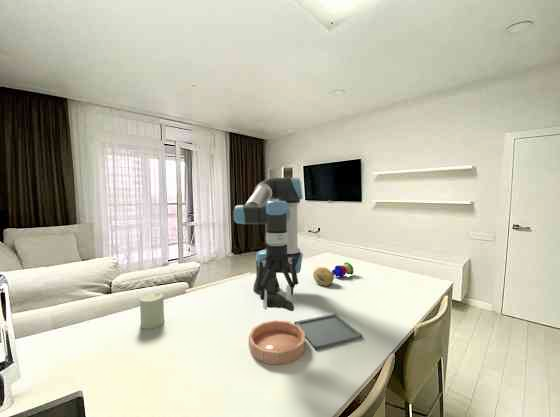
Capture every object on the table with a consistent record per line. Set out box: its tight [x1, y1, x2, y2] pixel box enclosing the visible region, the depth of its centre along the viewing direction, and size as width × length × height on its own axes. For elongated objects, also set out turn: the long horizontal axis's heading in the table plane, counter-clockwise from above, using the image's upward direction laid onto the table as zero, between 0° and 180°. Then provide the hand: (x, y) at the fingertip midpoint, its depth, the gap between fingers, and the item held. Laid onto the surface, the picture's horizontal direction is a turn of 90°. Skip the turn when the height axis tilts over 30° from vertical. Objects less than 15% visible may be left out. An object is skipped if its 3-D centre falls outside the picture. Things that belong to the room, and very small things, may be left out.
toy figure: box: [331, 262, 354, 278], centre depth 164 cm, size 9×10×15 cm
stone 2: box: [312, 266, 335, 287], centre depth 151 cm, size 13×10×10 cm
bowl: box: [248, 319, 306, 366], centre depth 89 cm, size 20×20×4 cm
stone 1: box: [266, 290, 295, 312], centre depth 87 cm, size 7×13×5 cm, turn 56°
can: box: [139, 292, 165, 330], centre depth 105 cm, size 9×9×12 cm
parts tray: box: [293, 313, 363, 351], centre depth 98 cm, size 18×20×1 cm
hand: (277, 305), depth 88 cm, fingers closed on stone 1, 8 cm apart
